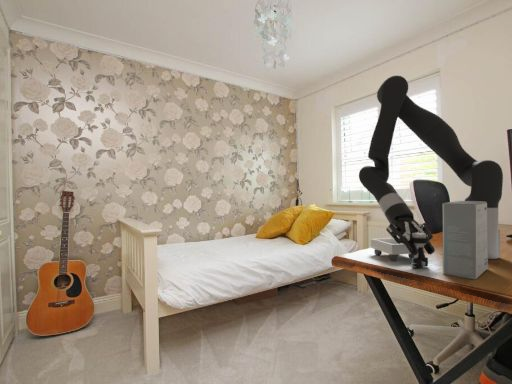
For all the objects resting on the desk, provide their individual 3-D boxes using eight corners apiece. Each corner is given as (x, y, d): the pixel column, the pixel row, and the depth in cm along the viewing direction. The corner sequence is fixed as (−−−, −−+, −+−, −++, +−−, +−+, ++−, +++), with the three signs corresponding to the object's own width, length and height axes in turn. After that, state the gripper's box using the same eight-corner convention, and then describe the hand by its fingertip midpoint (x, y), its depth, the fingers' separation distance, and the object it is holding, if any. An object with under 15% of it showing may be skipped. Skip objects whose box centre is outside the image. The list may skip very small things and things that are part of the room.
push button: (419, 271, 80) (419, 236, 79) (402, 266, 84) (402, 233, 84) (433, 267, 83) (433, 233, 82) (416, 262, 87) (415, 231, 87)
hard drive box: (456, 263, 88) (457, 200, 87) (488, 269, 82) (488, 201, 82) (441, 273, 77) (442, 202, 77) (476, 280, 72) (476, 203, 71)
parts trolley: (397, 252, 103) (397, 237, 103) (420, 260, 92) (421, 243, 92) (370, 254, 100) (370, 238, 100) (391, 262, 90) (392, 244, 89)
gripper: (381, 202, 89) (410, 247, 77) (419, 201, 92) (452, 245, 81) (371, 217, 94) (396, 261, 83) (407, 216, 97) (436, 258, 86)
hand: (424, 253), depth 82 cm, fingers closed on push button, 5 cm apart
